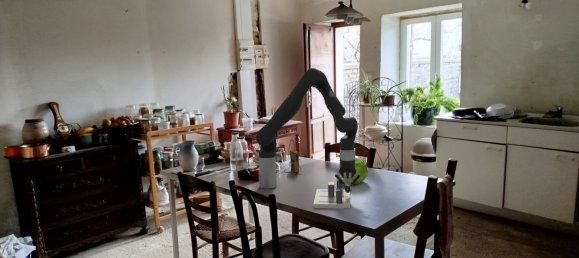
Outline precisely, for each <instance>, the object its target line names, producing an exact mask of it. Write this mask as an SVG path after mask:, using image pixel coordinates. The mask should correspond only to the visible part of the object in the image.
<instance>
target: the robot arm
mask: <svg viewBox="0 0 579 258" xmlns="http://www.w3.org/2000/svg"><path fill="white" fill-rule="evenodd" d="M312 88H313V89H316V90H317V91H318V92H319V94H321V96H322V98H323V101H324V105H325V106H326V110H328V112H329V113H330V115H331V116H332V120H333V122H334V125H335V128H336V130H337V131H338V132H340V133H341V134H345V135H343V136H342V137H340V140H339V157H338V158H339V167H340V169H339V168H338V172H337V173H335V174H334V177H335V178H336V180H337V179H338V181H339V182H340V183H341V184H342V185H343V186H344V190H345V192H346V193H349V192H350V193H351V188H352V187H351V186H353V185H356V184H355V183H356V181H357V180H358V179H359V178H360V174H358V173H357V172H356V169H355V159H356V150H355V145H356V144H355V143H356V142H355V140H356V138H357V132H358V128H359V124H358V120H357V119H356V118H355V117H354V116H349V117H344V116H345V114H346V108H345V107H344V105H343V104H342V103H341V101H340V100H339V98H338V97H337V95H336V94H335V92H334V90H333V88H332V87H331V85H330V82H329V80H328V78H327V76H326V74H325V72H324V71H322V70H320V69H318V68H316V67H311V68H309V69H307V70H306V71H305V72H304V74H303V75H302V77H301V78H300V79H299V81H298V82H297V84H296V86H295V87H294V88H293V89H292V90H291V92H290V93H289V95H288V96H287V97H286V98H285V99H284V100H283V102H281V104H279V106H278V108H277V109H276V110H275V112H274V113H273V115H272V116H271V118H270V119H269V120H268V121H267V122H266V123H265V124H264V125H263V126H262V127H261V128H260V129H259V130H258V131H257V133H256V135H255V140H256V141H255V142H257V144H258V145H260V149H259V150H258V162H259V163H258V166H259V169H258V186H259V187H258V188H260V189H268V190H269V189H273V188H276V187H277V185H278V184H277V181H278V180H277V162H276V161H277V159H276V152H277V133H278V132H279V131H280V130H281V129H282V128H283V127H284V126H285V125H286V124H288V122H290V120H292V119H293V117H295V115H296V114H297V113H298V112H299V111H300V109H301V107H302V104H303V100H304V97H305V95H306V93H308V91H309V90H310V89H312ZM355 174H356V175H355ZM340 175H341V176H342V177H343V178H344V181H343V180H342V179H341V178H340ZM354 175H355V178H354V180H353V181H352V182H351V178H353V176H354ZM347 179H348V184H347Z"/></svg>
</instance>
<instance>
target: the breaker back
mask: <svg viewBox="0 0 579 258" xmlns="http://www.w3.org/2000/svg"><path fill="white" fill-rule="evenodd" d="M341 179H342V180H343V178H341ZM336 188H342V192H343V190H344V189H343V188H344V185H342V184H341V183H340V182H339V181H338V179H337V178H336Z"/></svg>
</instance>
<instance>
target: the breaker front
mask: <svg viewBox="0 0 579 258" xmlns="http://www.w3.org/2000/svg"><path fill="white" fill-rule="evenodd" d="M335 189H336V203H342V188H337V187H335Z"/></svg>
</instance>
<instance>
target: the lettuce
mask: <svg viewBox="0 0 579 258" xmlns="http://www.w3.org/2000/svg"><path fill="white" fill-rule="evenodd" d="M339 169H340V166H339V168H338V170H339ZM355 169H356V172H357V173H358V174H360V178H359V179H358V180H357V181H356V183H355V184H354V185H356V184H357V185H358V184H360V183H362V182H363V181H365V179H367V176H368V175H369V171H368V166H367V164H366V163H365V162H364V161H363V160H361V159H359V158H355ZM355 175H356V174H355ZM355 175H354V176H353V178H351V182H352V181H353V180H354V178H355ZM340 178H343V177H342V176H341V175H340ZM343 181H344V178H343ZM347 185H348V179H347Z"/></svg>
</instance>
